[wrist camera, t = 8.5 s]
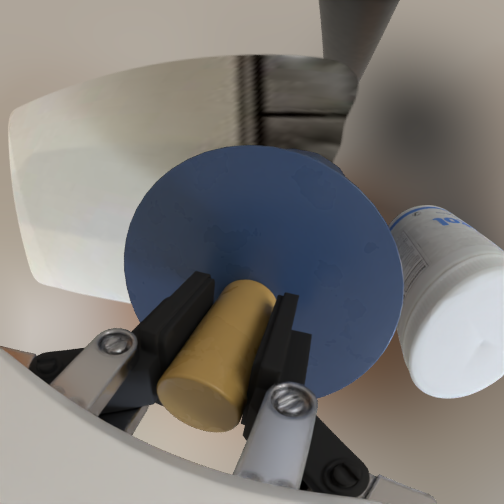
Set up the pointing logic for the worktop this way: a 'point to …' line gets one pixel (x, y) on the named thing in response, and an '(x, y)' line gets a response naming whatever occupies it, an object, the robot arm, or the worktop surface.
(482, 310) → the supplement tub
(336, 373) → the lid
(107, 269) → the worktop surface
